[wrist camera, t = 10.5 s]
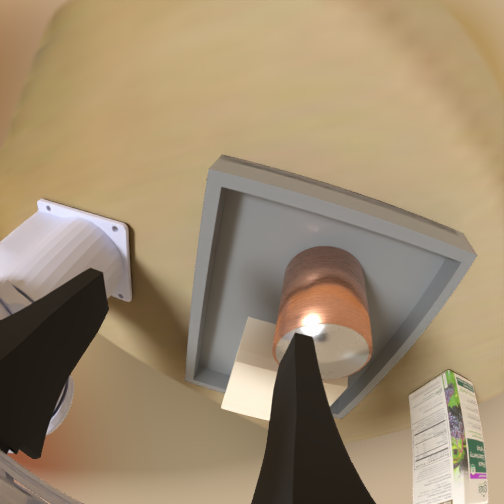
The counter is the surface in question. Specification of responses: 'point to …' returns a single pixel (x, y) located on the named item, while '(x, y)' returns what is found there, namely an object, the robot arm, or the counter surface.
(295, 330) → the tin can
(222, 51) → the counter surface
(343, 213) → the tray
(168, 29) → the counter surface
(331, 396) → the plain cream box
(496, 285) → the counter surface
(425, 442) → the syrup box
